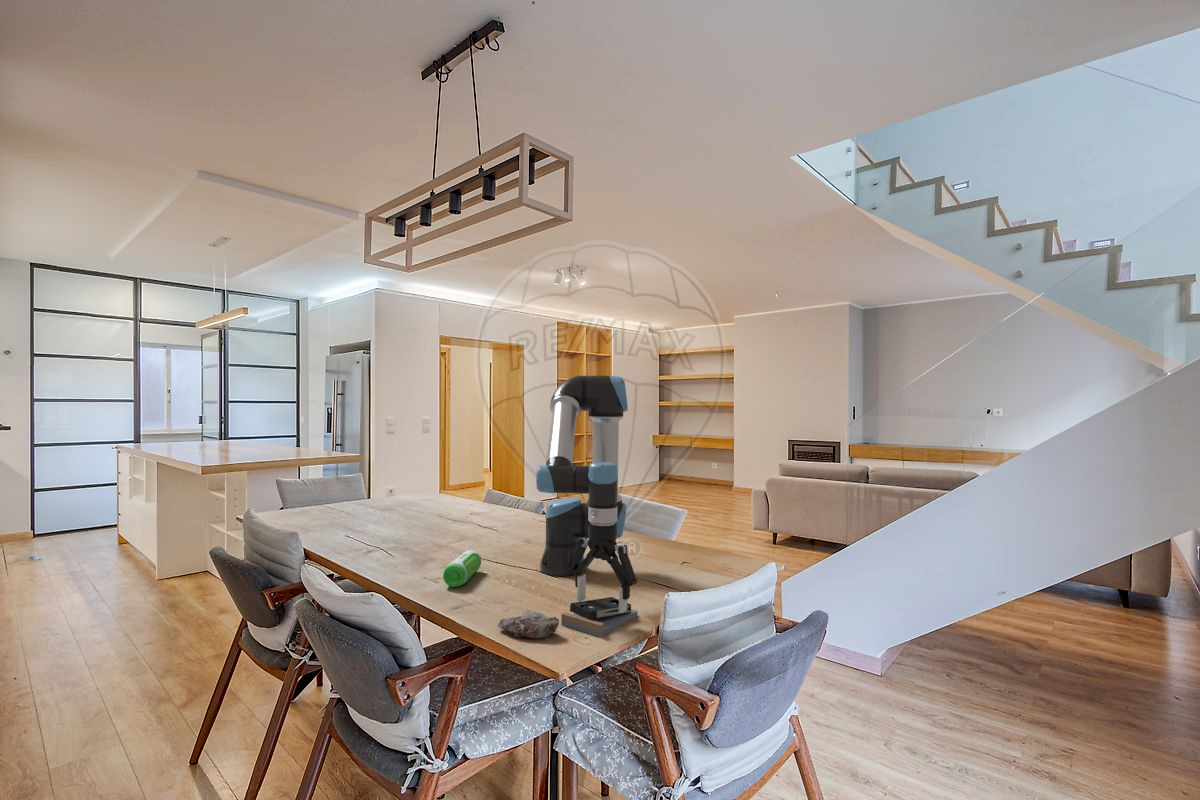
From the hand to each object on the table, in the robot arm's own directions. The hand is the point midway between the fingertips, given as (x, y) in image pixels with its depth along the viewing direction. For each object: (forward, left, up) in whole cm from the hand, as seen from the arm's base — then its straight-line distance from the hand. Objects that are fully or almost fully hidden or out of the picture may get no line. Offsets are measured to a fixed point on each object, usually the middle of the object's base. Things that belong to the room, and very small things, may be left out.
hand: (601, 605), depth 146 cm
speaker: (-48, +23, -4) cm, 53 cm away
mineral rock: (-16, -12, -4) cm, 20 cm away
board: (0, 0, -4) cm, 4 cm away
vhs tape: (0, 0, -2) cm, 2 cm away
